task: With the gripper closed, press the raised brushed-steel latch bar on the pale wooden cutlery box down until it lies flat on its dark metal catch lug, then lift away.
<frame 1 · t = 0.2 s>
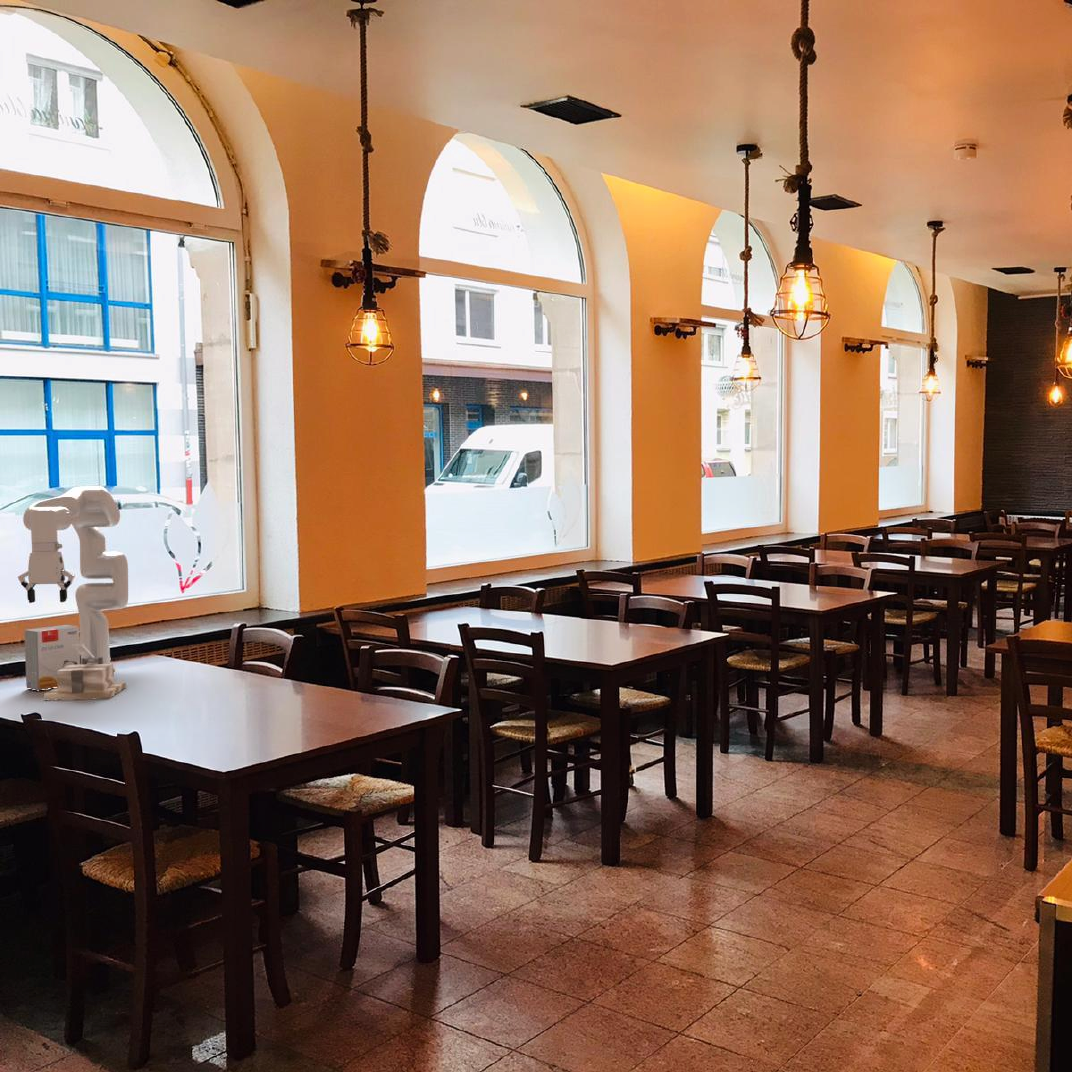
hand: (47, 602, 356), 31 cm above the table, tool pointing down, fingers open, 9 cm apart
hard drive box: (54, 687, 376), on the table
latch bar: (85, 653, 364), point 13 cm above the table, hinge at 30.0°
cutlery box: (86, 694, 364), on the table
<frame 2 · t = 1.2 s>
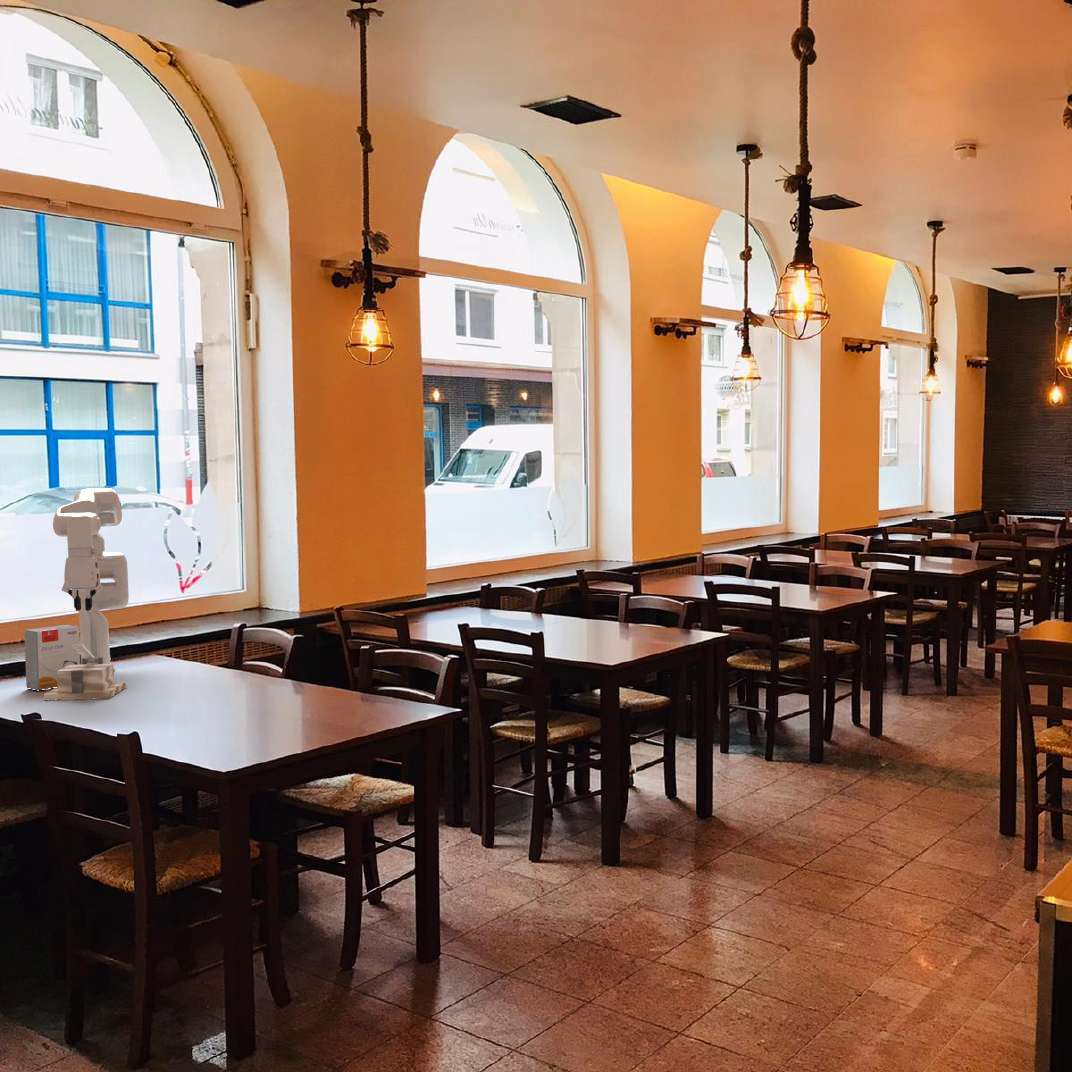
hand: (83, 609, 363), 27 cm above the table, tool pointing down, fingers closed
nothing on the table moved.
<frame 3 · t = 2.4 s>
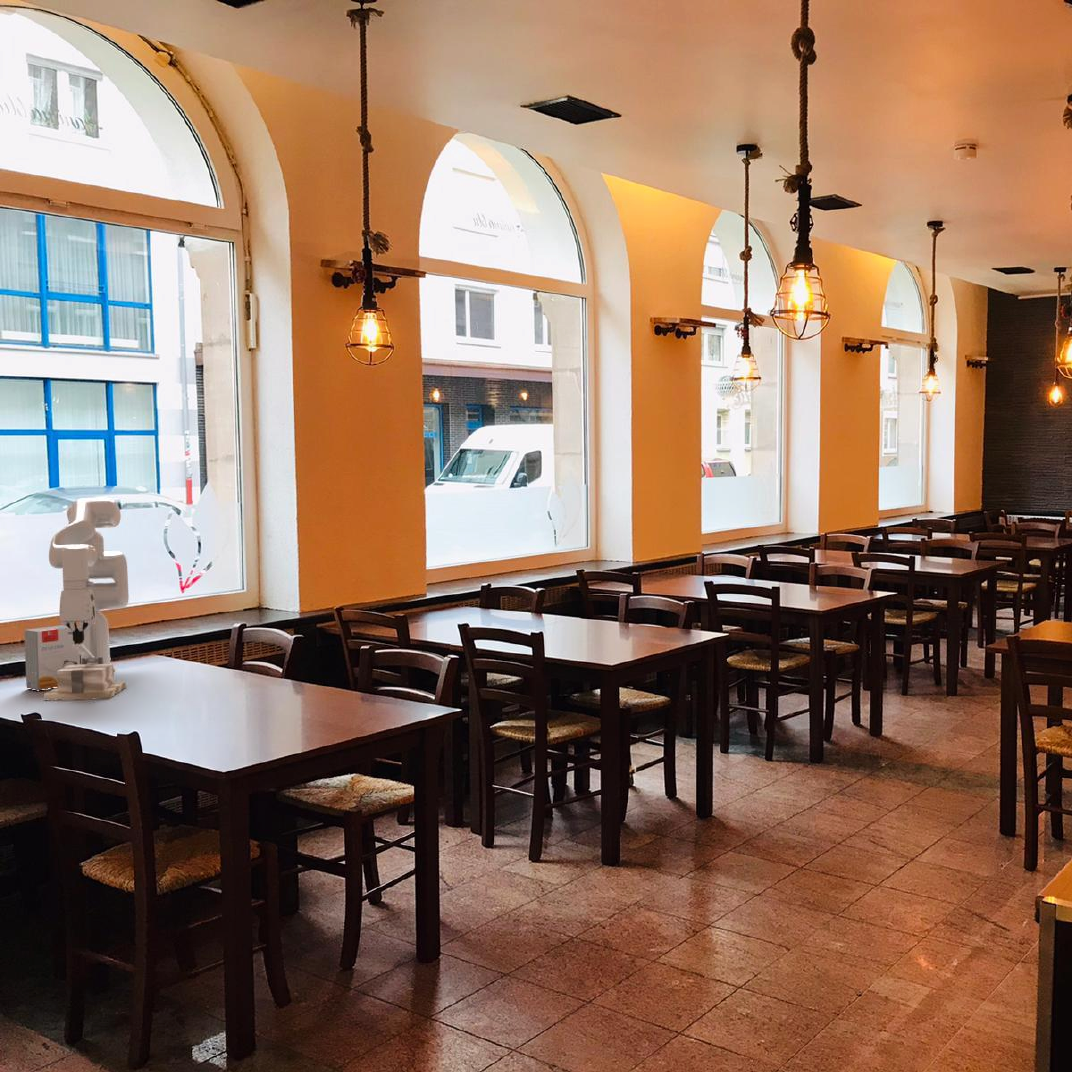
hand: (78, 643, 358), 17 cm above the table, tool pointing down, fingers closed
latch bar: (85, 653, 364), point 13 cm above the table, hinge at 29.8°, touching gripper
everything else where it was.
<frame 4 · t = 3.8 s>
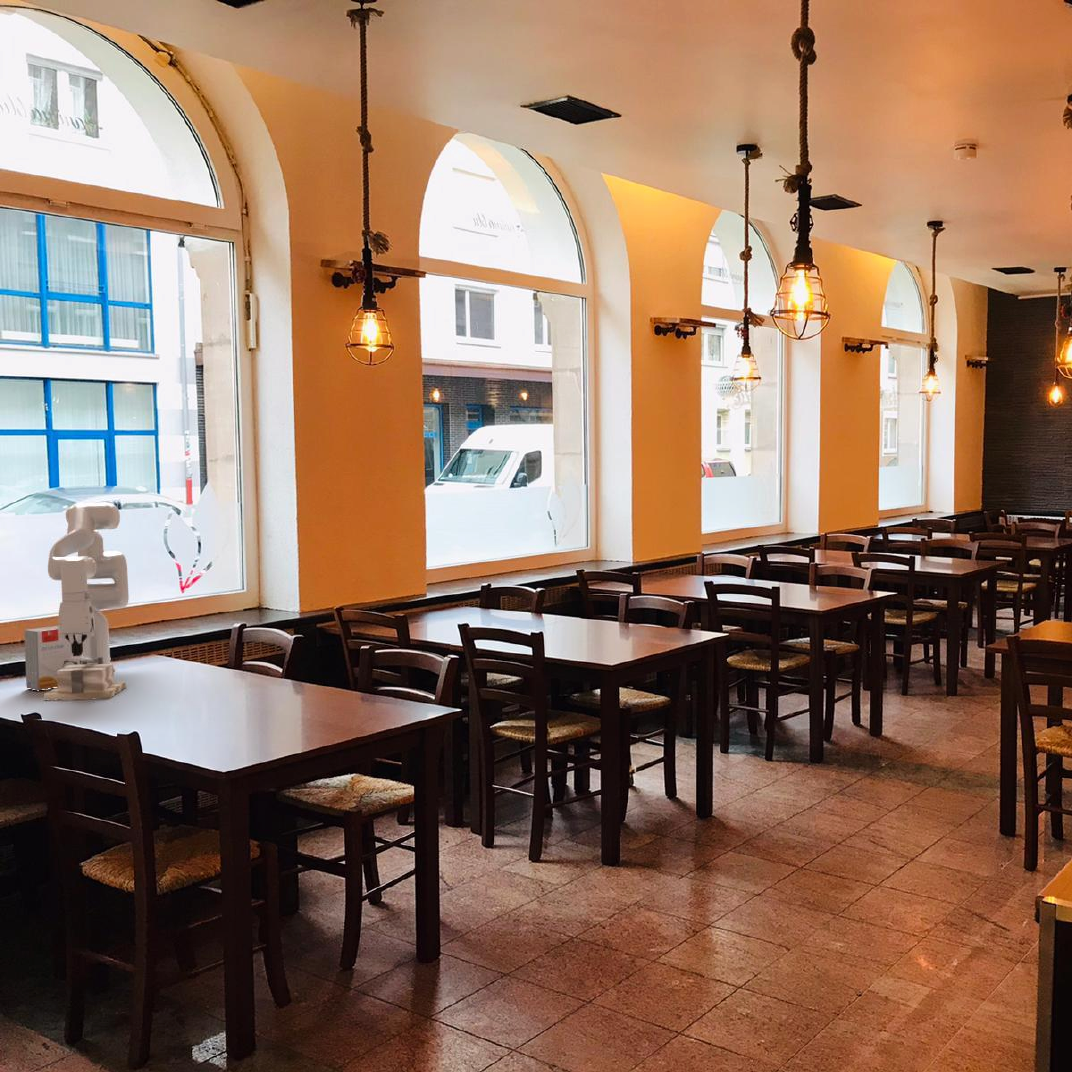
hand: (77, 655, 357), 14 cm above the table, tool pointing down, fingers closed
latch bar: (84, 659, 363), point 11 cm above the table, hinge at 14.8°, touching gripper
everything else where it was.
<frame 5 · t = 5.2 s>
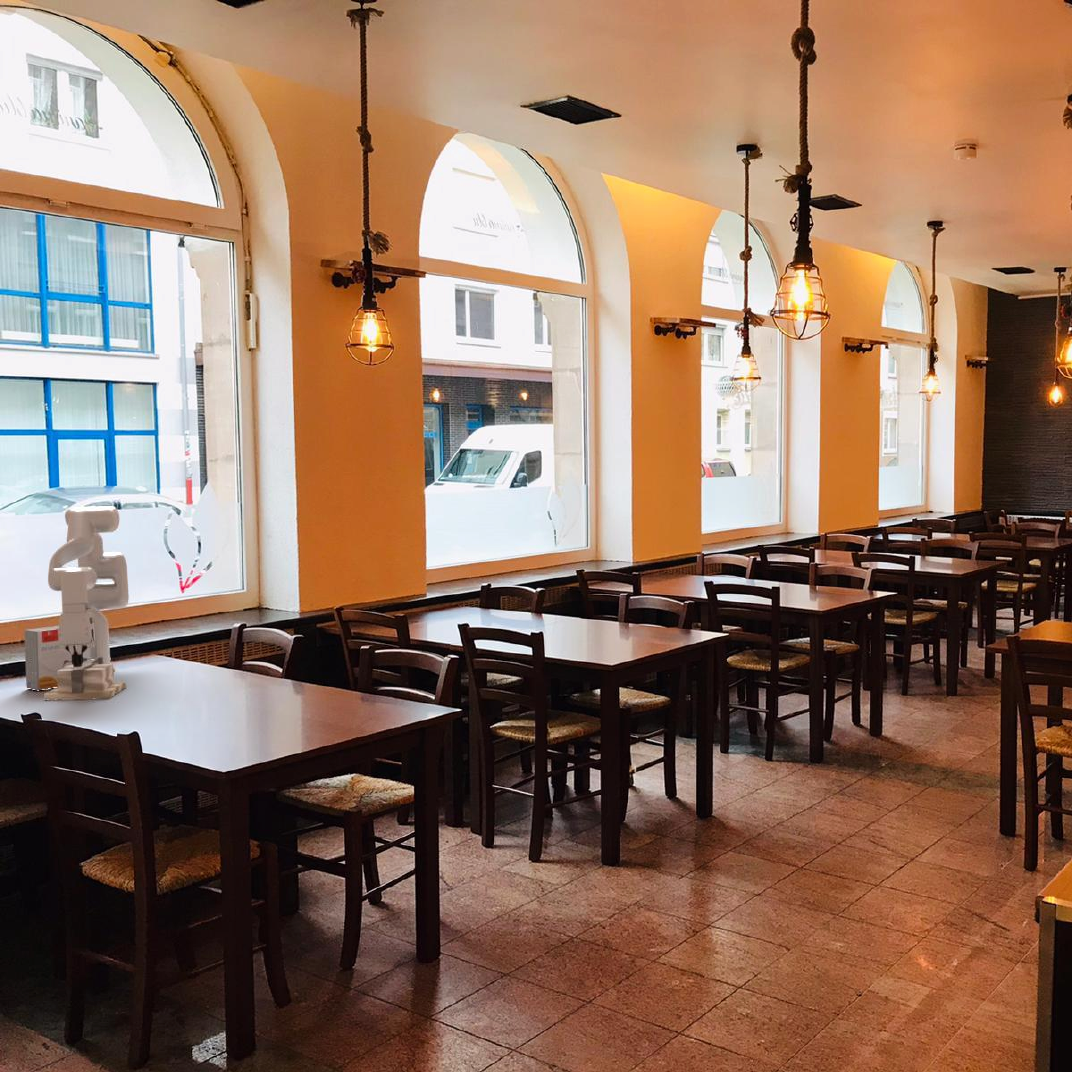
hand: (77, 666, 357), 10 cm above the table, tool pointing down, fingers closed
latch bar: (84, 664, 363), point 10 cm above the table, hinge at 1.5°, touching gripper
everything else where it was.
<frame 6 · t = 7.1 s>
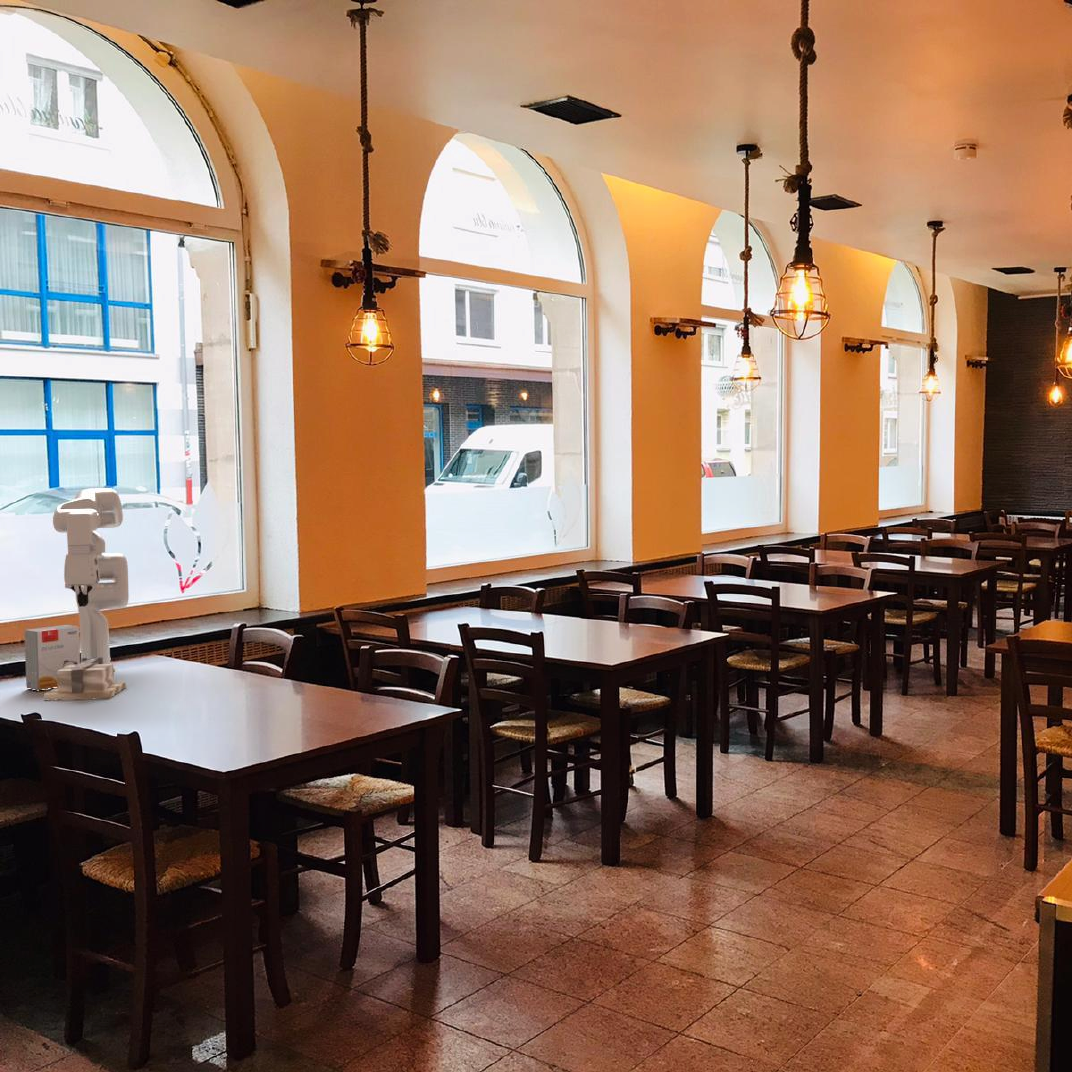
hand: (83, 605, 367), 28 cm above the table, tool pointing down, fingers closed
latch bar: (84, 664, 363), point 10 cm above the table, hinge at 1.3°
everything else where it was.
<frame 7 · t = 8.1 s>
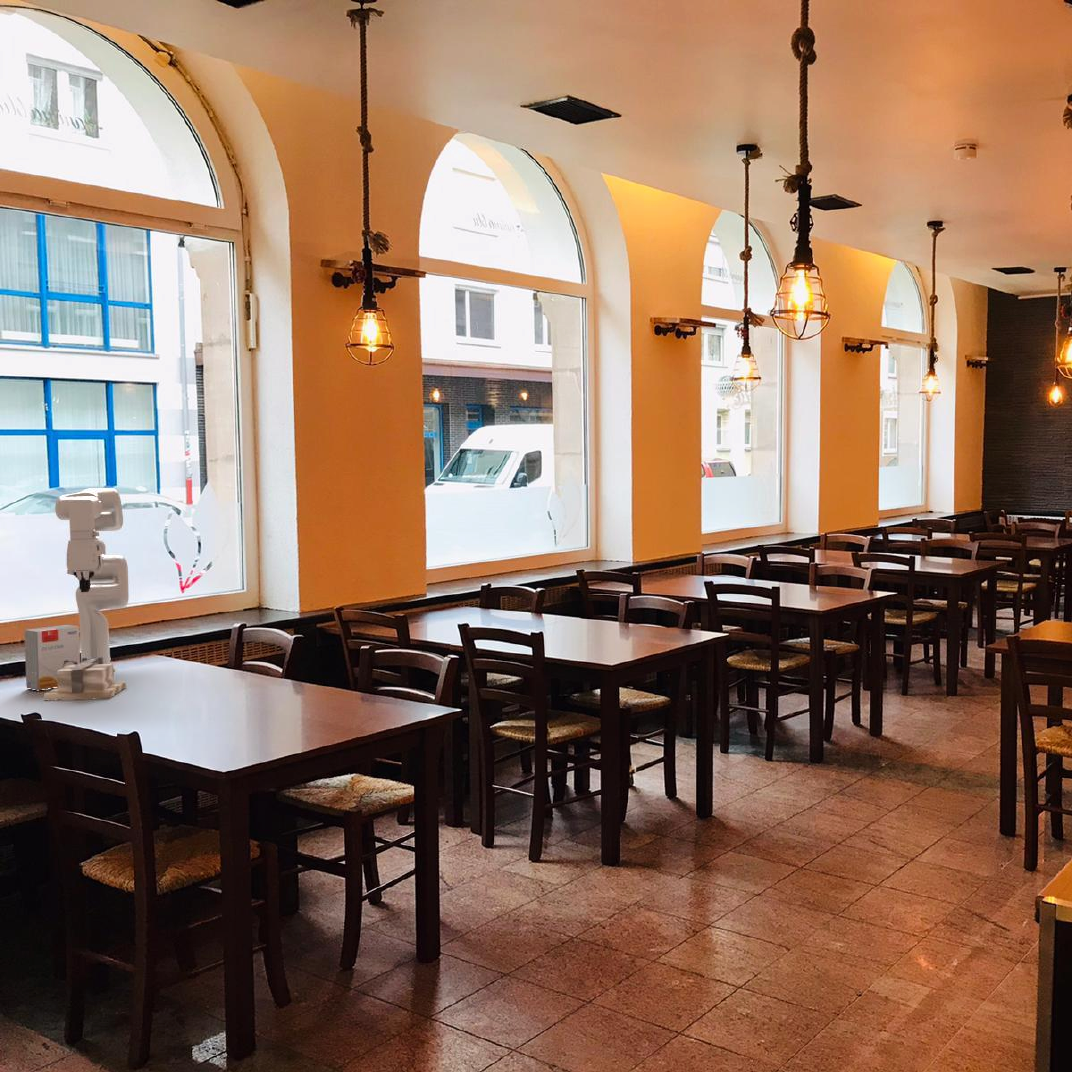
hand: (85, 591, 370), 32 cm above the table, tool pointing down, fingers closed
nothing on the table moved.
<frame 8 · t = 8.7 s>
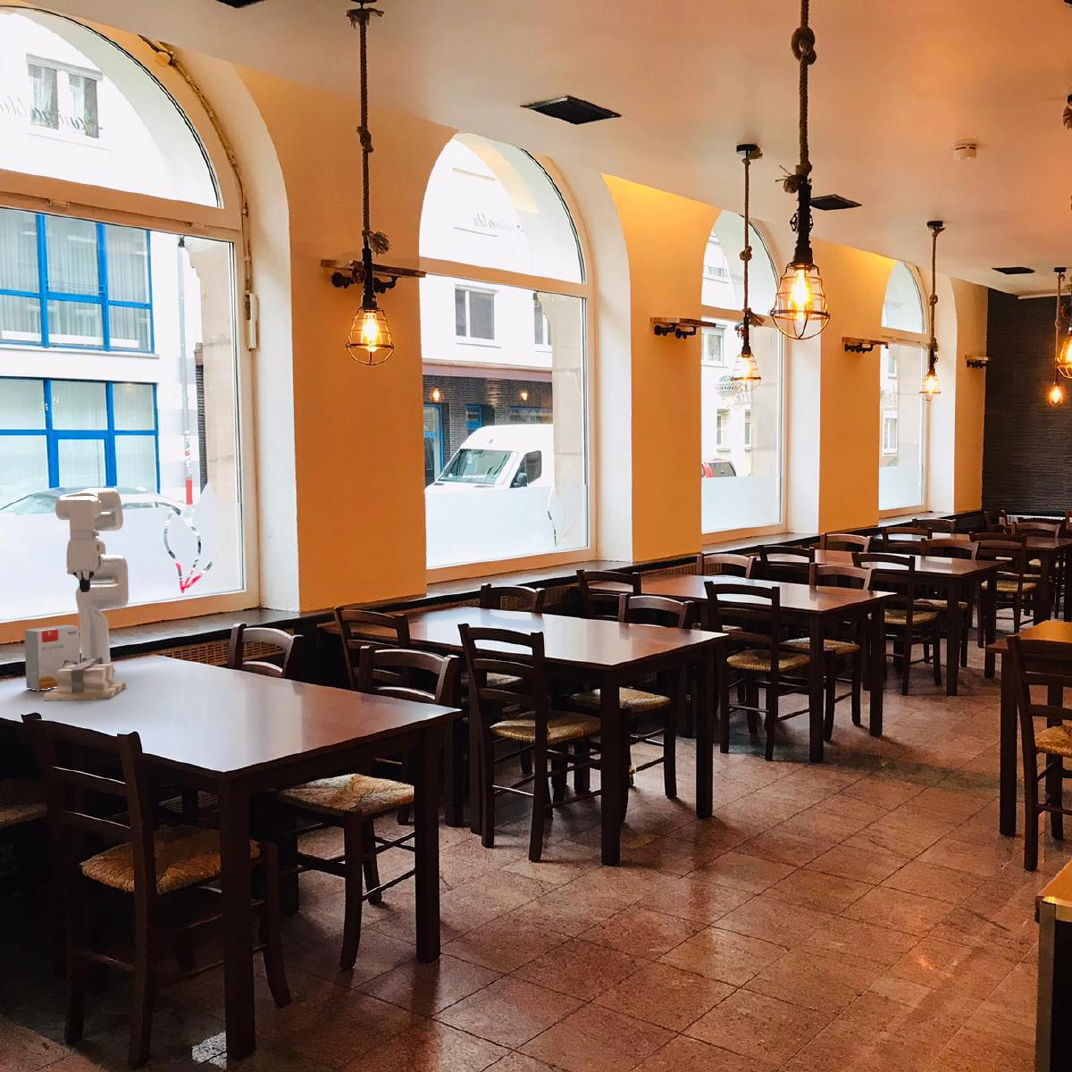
hand: (85, 591, 370), 32 cm above the table, tool pointing down, fingers closed
nothing on the table moved.
at the end: latch bar at +1° (first picture: +30°); the gripper is holding nothing; hard drive box moved 0.3 cm from its start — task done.
